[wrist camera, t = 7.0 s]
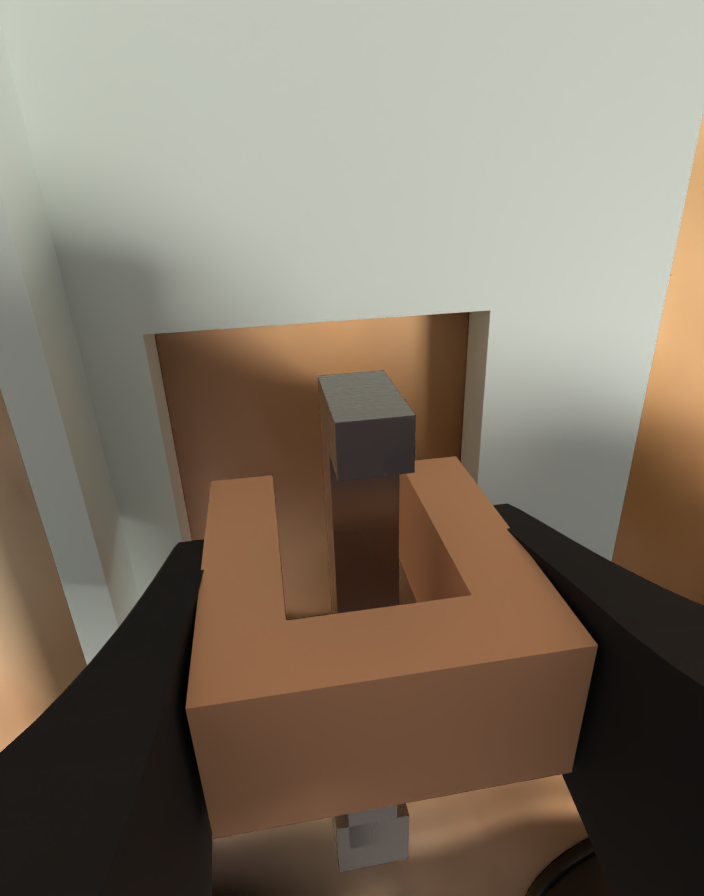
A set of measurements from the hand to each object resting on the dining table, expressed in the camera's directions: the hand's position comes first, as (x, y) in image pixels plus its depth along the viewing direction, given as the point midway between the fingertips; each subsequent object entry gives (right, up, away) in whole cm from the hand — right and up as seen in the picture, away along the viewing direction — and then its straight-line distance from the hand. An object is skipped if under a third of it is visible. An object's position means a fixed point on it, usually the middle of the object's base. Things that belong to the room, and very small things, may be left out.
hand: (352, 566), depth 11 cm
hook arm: (-1, +1, +4) cm, 4 cm away
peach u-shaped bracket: (0, +1, +1) cm, 2 cm away
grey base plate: (0, +3, +3) cm, 4 cm away
